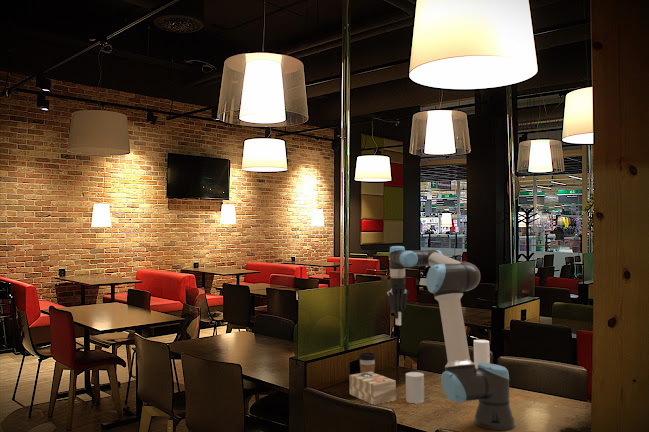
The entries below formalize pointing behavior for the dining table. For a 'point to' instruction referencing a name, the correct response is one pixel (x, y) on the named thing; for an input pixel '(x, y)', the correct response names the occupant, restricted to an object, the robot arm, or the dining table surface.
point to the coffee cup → (367, 362)
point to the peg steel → (365, 375)
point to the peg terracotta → (378, 379)
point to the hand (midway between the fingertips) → (398, 324)
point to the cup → (415, 387)
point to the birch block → (372, 388)
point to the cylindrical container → (481, 352)
